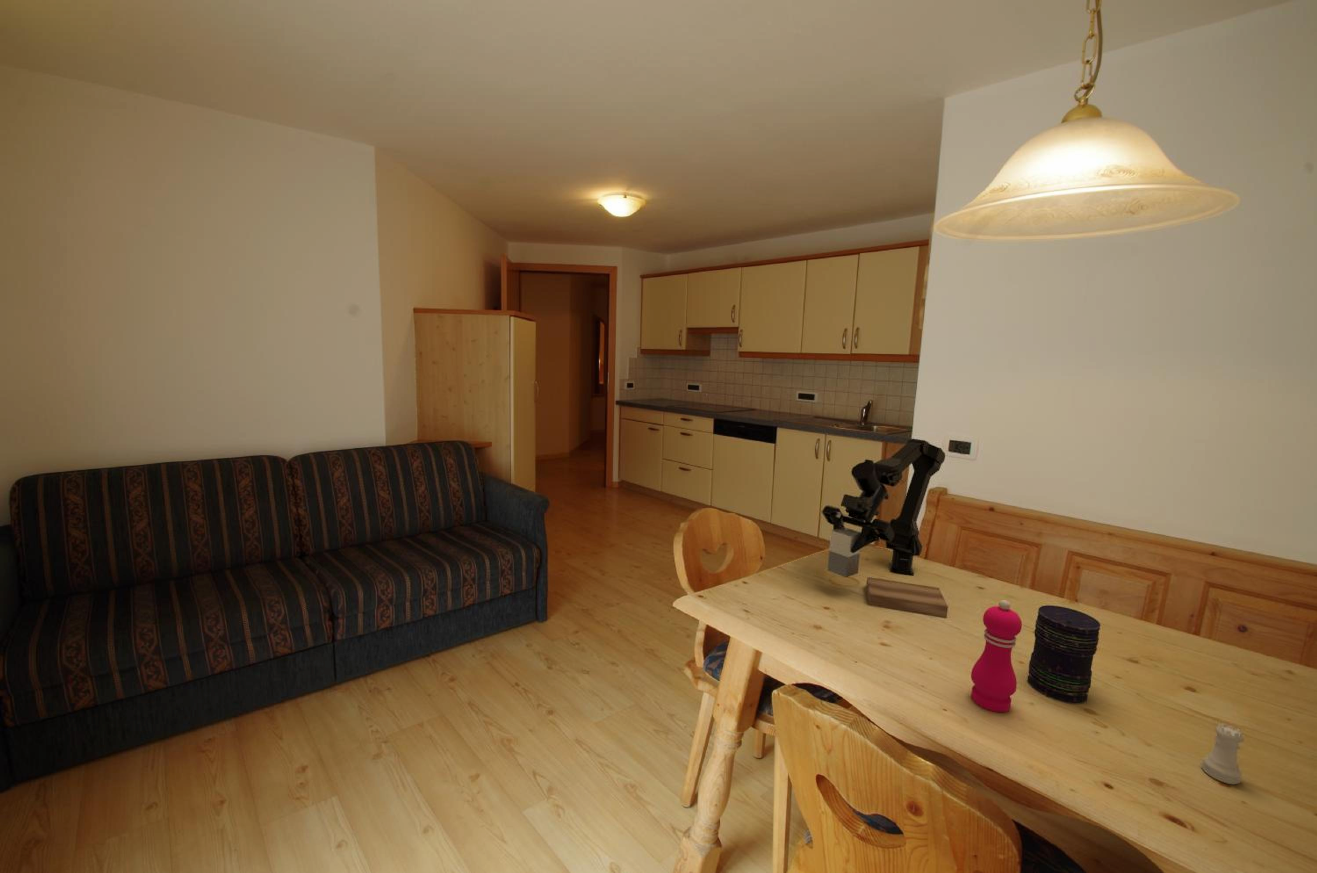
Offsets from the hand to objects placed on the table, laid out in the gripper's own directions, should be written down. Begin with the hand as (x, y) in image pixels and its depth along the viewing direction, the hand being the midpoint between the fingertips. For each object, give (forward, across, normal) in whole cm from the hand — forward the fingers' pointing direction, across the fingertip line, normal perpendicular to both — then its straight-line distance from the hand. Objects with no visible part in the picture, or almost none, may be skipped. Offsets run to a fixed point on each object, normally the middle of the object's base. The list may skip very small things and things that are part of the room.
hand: (841, 548), depth 143 cm
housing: (+4, 0, +6) cm, 7 cm away
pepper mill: (+21, +43, -2) cm, 48 cm away
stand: (0, +12, +18) cm, 22 cm away
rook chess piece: (+13, +72, +6) cm, 74 cm away
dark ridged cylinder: (+9, +49, +10) cm, 51 cm away
